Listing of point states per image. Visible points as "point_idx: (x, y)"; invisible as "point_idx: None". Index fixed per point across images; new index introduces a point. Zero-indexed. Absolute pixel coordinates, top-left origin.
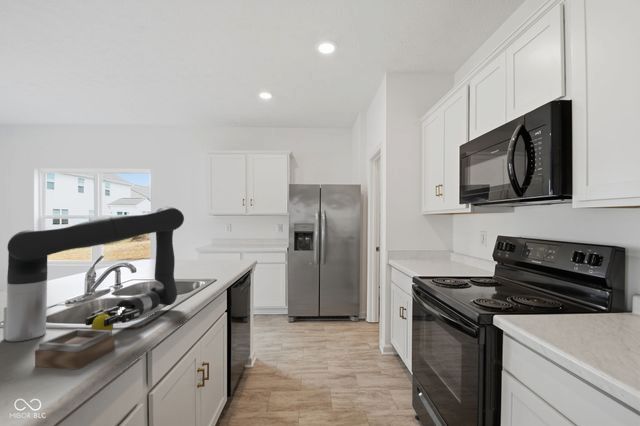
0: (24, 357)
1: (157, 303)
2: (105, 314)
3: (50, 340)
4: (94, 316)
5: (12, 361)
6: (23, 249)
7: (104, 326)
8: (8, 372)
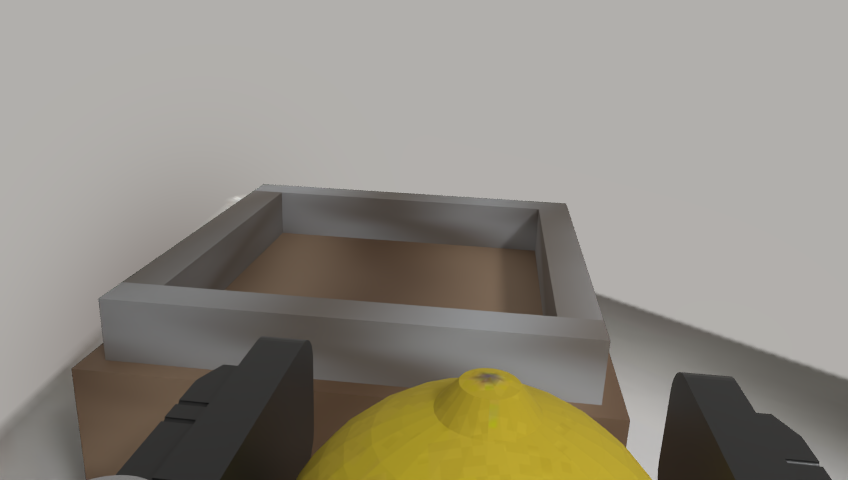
0: (820, 418)
1: None
2: (443, 439)
3: (546, 219)
4: (722, 470)
5: (809, 382)
6: None
7: None
8: (633, 311)
